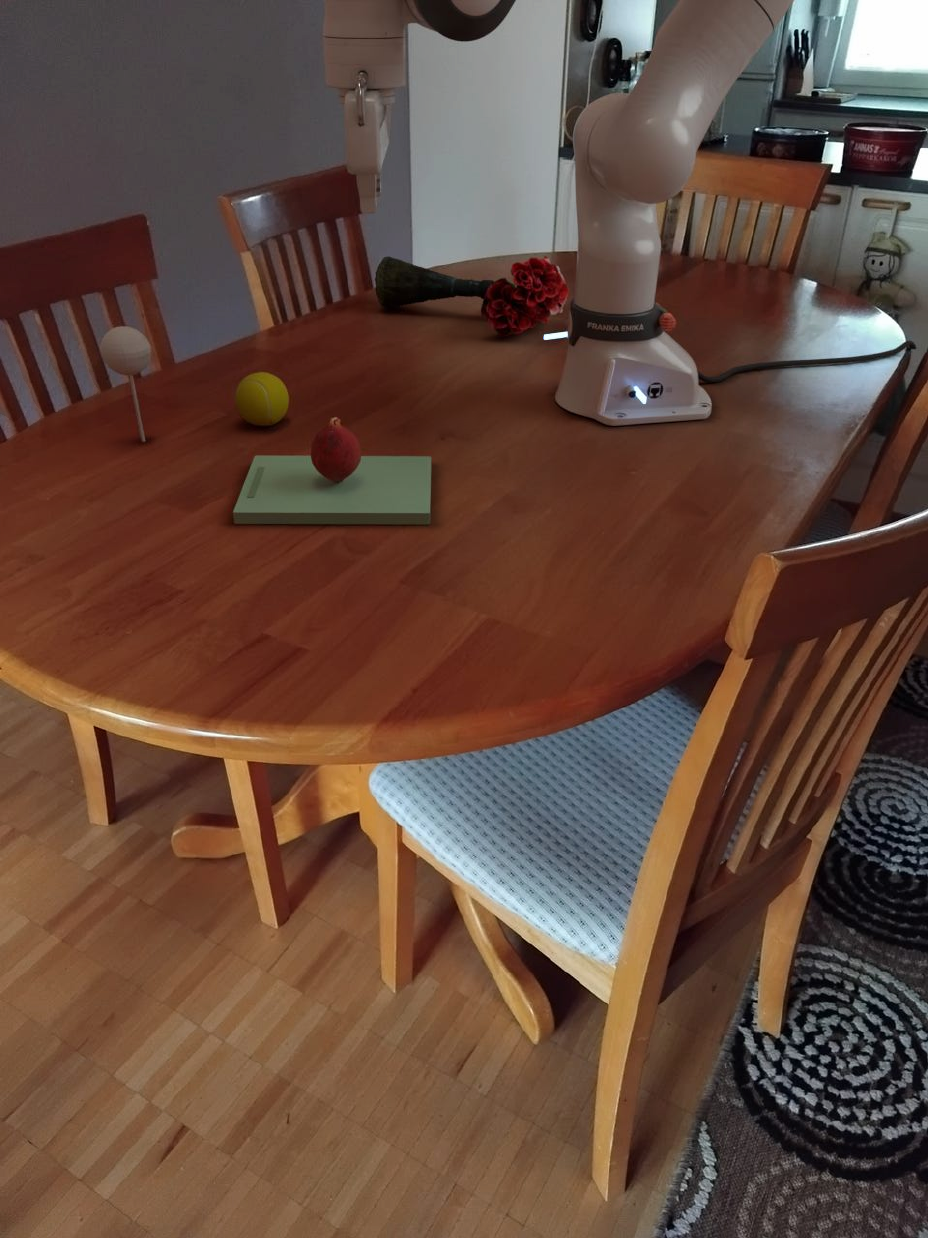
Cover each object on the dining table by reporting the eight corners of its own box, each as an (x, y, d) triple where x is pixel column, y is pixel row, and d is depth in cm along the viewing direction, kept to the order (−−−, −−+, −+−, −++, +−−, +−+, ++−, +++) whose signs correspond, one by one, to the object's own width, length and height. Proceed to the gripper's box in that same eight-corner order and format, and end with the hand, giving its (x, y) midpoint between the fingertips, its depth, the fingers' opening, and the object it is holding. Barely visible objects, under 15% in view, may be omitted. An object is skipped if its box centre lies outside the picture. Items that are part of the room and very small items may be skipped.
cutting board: (431, 467, 118) (431, 455, 117) (430, 524, 106) (429, 512, 105) (256, 466, 118) (254, 454, 117) (234, 524, 105) (232, 511, 104)
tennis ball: (274, 437, 125) (269, 386, 121) (229, 429, 127) (222, 379, 123) (299, 418, 130) (295, 369, 126) (255, 410, 132) (250, 362, 128)
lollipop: (176, 435, 125) (157, 323, 116) (150, 453, 120) (128, 337, 112) (136, 429, 127) (114, 317, 118) (109, 446, 122) (84, 331, 113)
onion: (354, 495, 108) (350, 430, 104) (306, 490, 109) (300, 425, 104) (368, 474, 113) (365, 411, 108) (322, 469, 114) (317, 406, 109)
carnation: (387, 350, 177) (566, 365, 166) (347, 305, 160) (544, 318, 149) (404, 272, 179) (583, 281, 168) (366, 219, 161) (563, 225, 150)
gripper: (389, 76, 94) (394, 223, 102) (397, 60, 111) (401, 187, 118) (326, 75, 94) (336, 223, 101) (344, 60, 110) (351, 187, 118)
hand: (371, 203), depth 110 cm, fingers open, 8 cm apart
